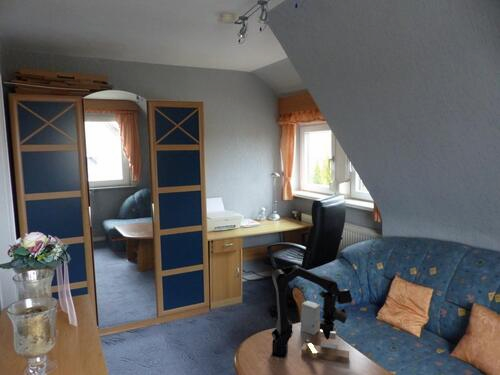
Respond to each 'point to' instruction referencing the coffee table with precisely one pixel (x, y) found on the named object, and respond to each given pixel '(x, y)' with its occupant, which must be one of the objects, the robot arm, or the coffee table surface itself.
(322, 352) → the body
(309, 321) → the skincare box
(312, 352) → the lever
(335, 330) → the grey squarish block
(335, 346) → the felt pad
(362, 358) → the coffee table surface
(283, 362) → the coffee table surface
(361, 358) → the coffee table surface
